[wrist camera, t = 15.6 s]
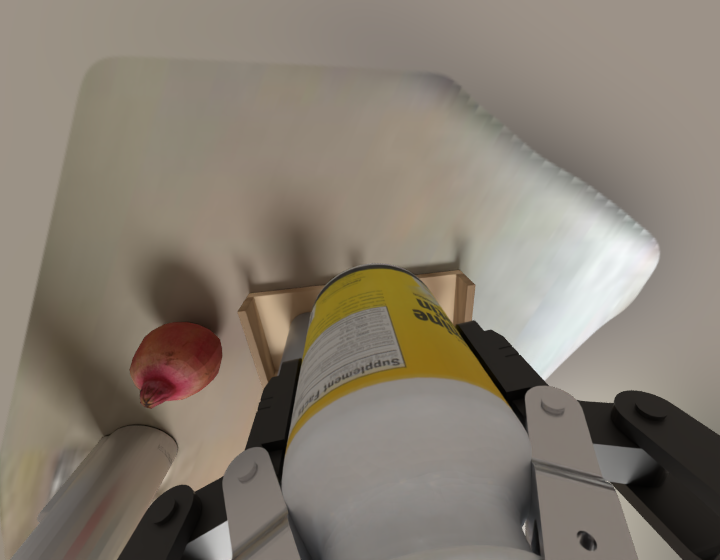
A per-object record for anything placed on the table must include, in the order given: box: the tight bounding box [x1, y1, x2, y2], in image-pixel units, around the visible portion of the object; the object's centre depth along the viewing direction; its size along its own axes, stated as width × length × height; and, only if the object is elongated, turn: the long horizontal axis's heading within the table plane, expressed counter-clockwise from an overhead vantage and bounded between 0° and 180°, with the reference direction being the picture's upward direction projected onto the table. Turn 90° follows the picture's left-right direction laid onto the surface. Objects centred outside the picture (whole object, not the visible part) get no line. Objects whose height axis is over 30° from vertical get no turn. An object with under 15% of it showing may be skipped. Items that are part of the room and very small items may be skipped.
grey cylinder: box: [277, 312, 311, 376], centre depth 28 cm, size 5×5×10 cm
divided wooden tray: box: [238, 270, 475, 390], centre depth 32 cm, size 24×12×4 cm, turn 95°
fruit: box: [130, 322, 222, 409], centre depth 28 cm, size 8×8×10 cm
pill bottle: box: [282, 263, 543, 560], centre depth 9 cm, size 6×6×12 cm
